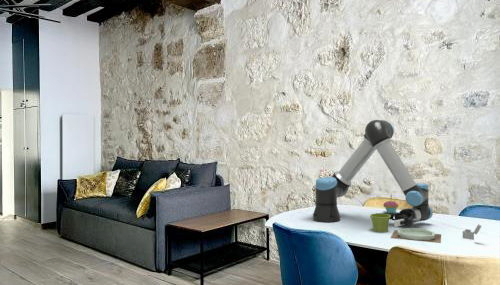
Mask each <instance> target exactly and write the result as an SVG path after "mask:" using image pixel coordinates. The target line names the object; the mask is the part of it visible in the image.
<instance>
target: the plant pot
mask: <svg viewBox="0 0 500 285" xmlns="http://www.w3.org/2000/svg"><path fill="white" fill-rule="evenodd" d="M369 216H371V219H372V222H371V223H372V224H371V225H372V229H373V231H374V232H378V233H386V232H388V231H389V222H390V220H391V219H390V217H391V216H390V215H388V214H376V213H371V214H369Z"/></svg>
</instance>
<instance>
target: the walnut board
mask: <svg viewBox="0 0 500 285" xmlns="http://www.w3.org/2000/svg"><path fill="white" fill-rule="evenodd" d="M398 230H399V229H395V230H393V232H392V233H391V235H390V239H397V240H406V241H411V240H410V239H405V238H402V237H400V236H398V235H397V232H398ZM413 241H414V242H415V241H416V242H421V241H420V240H413ZM423 242H425V243H427V242H428V243H436V244H442V234H440V233H435V238H434V239H432V240H425V241H423Z"/></svg>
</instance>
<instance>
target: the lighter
mask: <svg viewBox="0 0 500 285" xmlns="http://www.w3.org/2000/svg"><path fill="white" fill-rule="evenodd" d="M481 228H483V227H482V225H481V224H477V226H476V227H475V229H474V231H472V229H464V230H462V239H468V240H475V235H478V233H479V231H480V230H481Z"/></svg>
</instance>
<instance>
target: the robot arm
mask: <svg viewBox="0 0 500 285" xmlns="http://www.w3.org/2000/svg"><path fill="white" fill-rule="evenodd" d="M394 134H395V129H394V126H393V125H392V123H391V122H390V121H387V120H385V119H373V120H371V121H370V120H369V122H368V123H367V124H366V126H365V127H364V135H363V141H362V142H361V143H360V144H358V147H357V148H356V149H355V150H354V151H353V153H352V154H351V156H349V158H348V160H346V162H345V163H344V164H343V166H342V167H341V168H340V169H339V170H338V171H337V170H336V171H335V172H333V173H332V175H331V176H323V177H318V178H317V179H316V180H315V185H314V186H315V207H314V210H313V214H312V220H313V221H314V222H321V223H336V222H340V221H341V215H340V211H339V209H338V199H339V198H342V197H344V196H345V195H346V194H347V192H348V191H349V188H350V187H351V185H352V180H353V179H354V177H355V176H356V175H357V174H358V172H360V170H361V169H362V168H363V167H364V165H365V164H366V163H367V162H368V160H369V159H370V158H371V157H372V156H373V154H374V153H375V151H377V153H378V154H379V156H380V157H381V159H382V160H383V162H384V164H385V165H386V167H387V169H388V170H389V172H390V173H391V175H392V176H393V179H394V180H395V182H396V183H397V185H398V187H399V188H400V190H401V191H402V193H403V194H404V196H405V201H406V203H407V204H408V205H409V206H410V207H408V208H404V209H401V210H400V211H399V212H397V213H396V212H395V213H393V212H392V213H387V212H382V213H381V212H379V213H375V214H388V215H390V216H391V217H390V220H391V221H394V222H393V224H394V225H393V226H394V227H395V228H396V227H400V226H404V225H405V226H407V225H409V226H413V225H414V224H415V223H417V222H423V221H424V222H425V221H428V220H430V219H431V218H432V217H433V214H434V213H433V209H432V208H431V207H430V206H429V205H430V204H429V192H430V190H429V185H428V184H427V183H423V182H422V183H420V182H419V183H418V182H417V183H416V181H415V180H414V178H413V177H412V175H411V173H410V171H409V170H408V169H407V167H406V166H405V164H404V162H403V161H402V159H401V157H400V156H399V154H398V152H397V151H396V149H395V148H394V146H393V144H392V143H391V139H392V138H393V136H394ZM369 216H370V215H369ZM370 222H371V223H372V219H371V216H370Z"/></svg>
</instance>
